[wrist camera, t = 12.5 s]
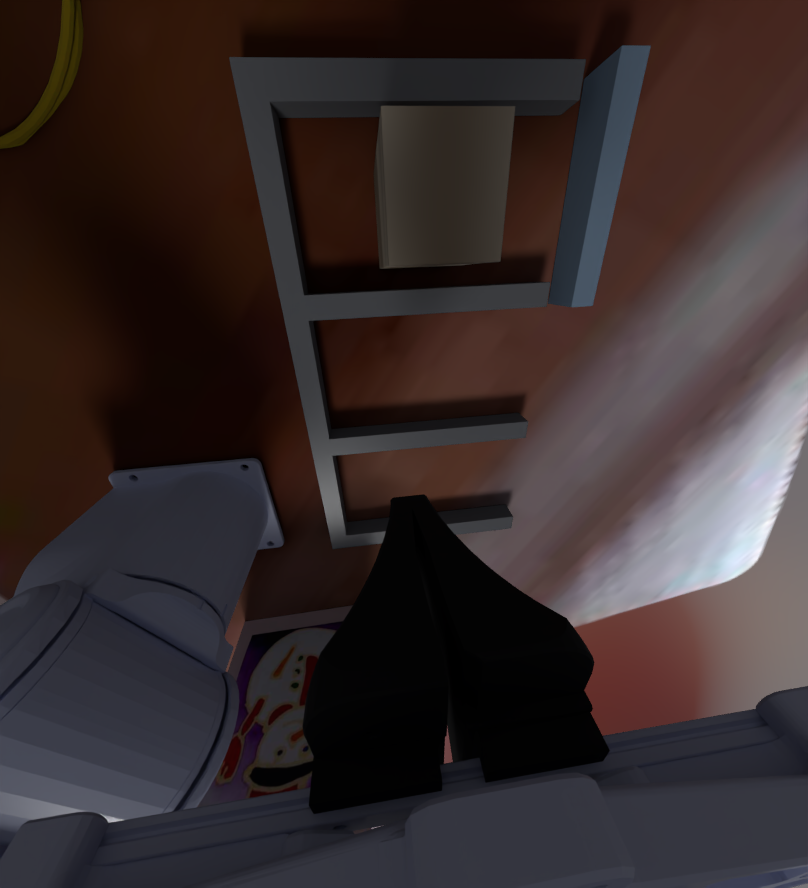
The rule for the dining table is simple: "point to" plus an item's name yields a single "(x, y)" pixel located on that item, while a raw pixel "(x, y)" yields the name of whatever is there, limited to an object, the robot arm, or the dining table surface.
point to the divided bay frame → (573, 285)
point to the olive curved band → (54, 75)
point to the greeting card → (273, 705)
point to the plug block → (441, 184)
